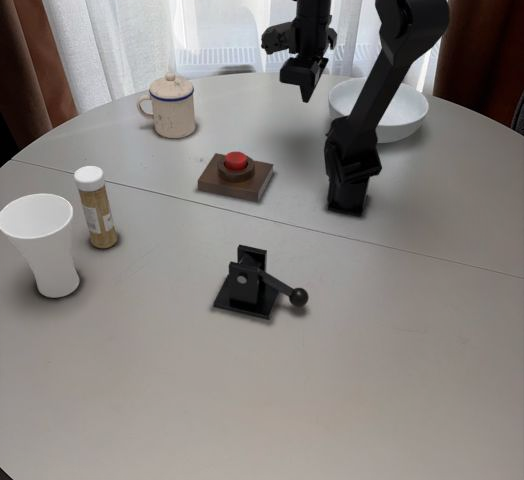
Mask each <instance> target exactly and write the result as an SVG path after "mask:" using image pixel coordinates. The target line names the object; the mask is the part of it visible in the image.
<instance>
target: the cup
mask: <svg viewBox="0 0 524 480" xmlns="http://www.w3.org/2000/svg"><path fill="white" fill-rule="evenodd" d="M73 217H74V208H73V206H72V204H71V203H70V202H69V201H68V200H67V199H65V198H64V197H62V196H59V195H58V194H52V193H35V194H28V195H24V196H22V197H19V198H17V199H14V200H12V201H11V202H9V203H8V204H6V205H5V206H4V208H2V210H1V211H0V231H1V232H2V234H4V236H5V237H6V238H7V239H8V241H10V242H11V244H13V246H14V247H15V248H16V249H17V250H18V251H19V252H20V254H21V255H22V256H23V257H24V259H25V260H26V262H27V264H28V265H29V267H30V268H31V271H32V273H33V275H34V278H35V282H36V287H37V290H38V292H39V293H40V294H41V295H42V296H45V297H46V298H55V299H56V298H63V297H66V296H68V295H70V294H72V293H73V292H75V290H76V289H78V287H79V284H80V276H79V275H78V272H77V270H76V268H75V265H74V261H73V255H72V245H71V243H72V230H73V219H74V218H73Z"/></svg>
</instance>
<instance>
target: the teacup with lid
mask: <svg viewBox="0 0 524 480" xmlns="http://www.w3.org/2000/svg"><path fill="white" fill-rule="evenodd" d="M194 92H195V88H194V85H193V83H192V81H190V80H189V79H187V78H185V77H181V76H176V74H175V73H174V72H171V71H169V72H166V73H165V74H164V76H163V77H160V78H157V79H156V80H153V81H152V82H151V83H150V86H149V89H148V93H149V94H143V95H141V96H139V97H138V98H137V101H136V108H137V111H138V113H139V114H140V115H141V116H142V117H143V118H144V119H147V120H153V122H154V124H153V125H154V130H155V132H156V133H157V134H158V135H160V136H161V137H164V138H167V139H168V138H169V139H182V138H185V137H188V136H190V135H192V134H193V133H194V131H195V130H196V115H195V113H196V112H195V102H194V101H195V100H194V99H195V98H194ZM143 101H151V109H152V114H151V113H147V112H145V111H144V110H143V108H142V106H141V103H142V102H143Z"/></svg>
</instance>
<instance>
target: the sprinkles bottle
mask: <svg viewBox="0 0 524 480" xmlns="http://www.w3.org/2000/svg"><path fill="white" fill-rule="evenodd" d="M73 180H74V183H75V187H76V189H77V190H78V194H79V198H80V204H81V207H82V211H83V214H84V219H85V222H86V226H87V229H88V233H89V235H90V243H91V244H92V246H94V247H96V248H98V249H109V248H111V247H112V246H114V245H115V244H116V243H117V241H118V235H117V232H116V228H115V222H114V218H113V214H112V213H113V212H112V209H111V204H110V200H109V198H108V192H107V188H106V177H105V173H104V171H103V169H101V168H100V167H98V166H95V165H86V166H82V167H80V168H78V169H77V170H76V171H75V172H74V174H73Z"/></svg>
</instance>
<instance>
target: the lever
mask: <svg viewBox="0 0 524 480" xmlns="http://www.w3.org/2000/svg"><path fill="white" fill-rule="evenodd" d="M239 263H240V264H245V265H249V266H254V267H258V268H259V267H260V265H261V262H260V261H258V260H256V259H255V258H253V257H252V256H250V255H248V254H247V253H245V254H244V256H243V257H242V259H241V260H240V262H239ZM259 279H260V280H261V281H263V282H265V283H266V284H268V285H270V286H271V287H273V288H275V289H276V290H278V291H280V294H283V295H285V296H286V297H288V300H289V303H290V304H291V305H292V306H293V307H295V308H303V307H304V306H306V305H307V304H308V302H309V298H310V296H309V293H308V291H307V290H306V289H305V288H303V287H295V288H294V287H291V286H290V285H288V284H286V283H285V282H284V281H281V280H280V279H278V278H277V277H275V276H273V275H271V274H270V273H269V272H267V271H266V272H265V271H263V270H261V269H260V268H259Z"/></svg>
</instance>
